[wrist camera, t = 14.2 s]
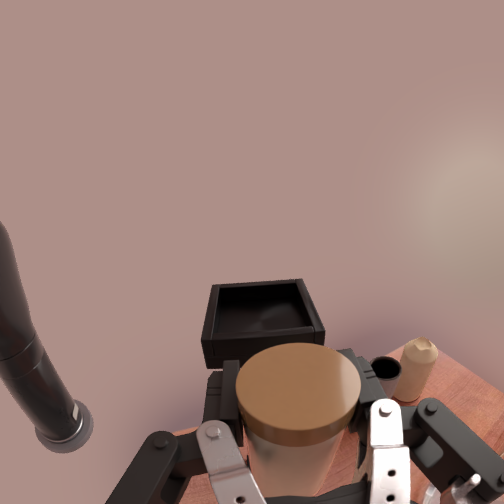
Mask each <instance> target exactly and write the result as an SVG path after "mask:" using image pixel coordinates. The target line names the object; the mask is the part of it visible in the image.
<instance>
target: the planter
mask: <svg viewBox="0 0 504 504" xmlns="http://www.w3.org/2000/svg"><path fill="white" fill-rule="evenodd" d="M370 365H371V367H372V369H373V371H374V373H375V374H376V377H377V378H378V380H379V382H380V384H381V386H382V388H383V390H384V392H385V394H386V395H387V397H388V399H392V396H393V394H394V392H395V389H396V387H397V384H398V381H399V379H400V376H401V374H402V366H401V364H400V363H399V362H398V361H397V360H396V359H394V358H391V357H387V356H381V357H377V358H374V359H373V360H372V361H370Z"/></svg>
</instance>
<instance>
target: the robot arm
mask: <svg viewBox="0 0 504 504" xmlns="http://www.w3.org/2000/svg"><path fill="white" fill-rule="evenodd" d="M336 351H337V352H339V353H341V354H342V355H344V356H345V357H347V358H348V359H349V360H350V361H351V362H352V363H353V365H354V366H355V367H356V369H357V371H358V373H359V376H360V380H361V391H360V395H359V399H358V402H357V405H356V408H355V411H354V414H353V416H352V418H351V420H350V422H349V423H348V428H349V431H350V433H354V432H358V435H359V438H358V441H357V453H356V464H355V473H354V477H353V480H352V483H351V484H349V485H345V486H341V487H339V488H337V489H334V490H332V491H330V492H328V493H325V494H323V495H320V496H317V497H307V496H292V495H287V496H277V497H263V495H262V493H261V491H260V489H259V487H258V485H257V483H256V481H255V479H254V477H253V475H252V473H251V471H250V469H249V467H248V466H247V465H246V464H245V462H244V459H243V457H242V455H241V453H240V451H239V448H238V447H243V420H242V418H241V416H240V413H239V409H238V403H237V397H236V388H235V384H236V379H237V375H238V373H239V371H240V362H239V360H226V361H224V362H223V371H213V373H212V374H211V375H210V377H209V378H208V383H207V392H206V399H205V408H204V415H203V421H202V424H201V425H200V426H199V427H198V429H197V430H195V431H194V432H191V433H189V434H184V435H180V436H174V435H173V434H172V433H170V432H166V431H158V432H154V433H152V434H151V435H149V436H148V437H147V439H146V440H145V442H144V443H143V445H142V446H141V448H140V450H139V451H138V453H137V454H136V456H135V458H134V459H133V461H132V462H131V464H130V465H129V467H128V468H127V470H126V472H125V473H124V475H123V476H122V478H121V480H120V481H119V483H118V484H117V486H116V487H115V489H114V490H113V492H112V494H111V495H110V497H109V498H108V500H107V501H106V503H105V504H179V502H180V500H181V498H182V496H183V494H184V492H185V490H186V488H187V486H188V483H189V481H190V479H191V477H192V476H196V475H200V474H205V473H208V474H209V479H210V483H211V485H212V488H213V491H214V493H215V496H216V499H217V501H218V504H418V503H416V502H414V501H412V500H410V459H411V460H412V461H413V462H414V463H415V464H416V466H417V467H418V468H419V469H420V470H421V471H422V472H423V474H424V475H425V476H426V477H427V478H428V479H429V480H430V481H431V483H432V484H433V485H434V486H435V487H436V488H437V489H438V490H439V492H440V493H441V497H440V504H490V503H492V502H493V501H494V500H496V499H497V498H499V497H500V496H501V495H503V494H504V460H503V459H502V458H501V457H500V456H499V455H498V454H497V453H496V452H495V451H493V450H492V449H491V448H490V447H489V446H488V445H487V444H486V443H485V442H484V441H483V440H482V439H481V438H480V437H479V436H477V435H476V434H475V433H474V432H473V431H472V430H471V429H470V428H469V427H468V426H467V425H466V424H464V423H463V422H462V421H461V420H460V419H459V418H458V417H457V416H456V415H455V414H454V413H452V412H451V411H450V410H449V409H448V408H447V407H446V406H445V405H444V404H443V403H442V402H440V401H439V400H437V399H435V398H425V399H423V400H422V401H420V403H419V404H418V406H399V405H398V403H396V402H395V401H393V400H391V399H388V397H387V395H386V394H385V392H384V390H383V388H382V386H381V384H380V382H379V380H378V378H377V377H376V374H375V373H374V371H373V369H372V367H371V365H370V363H369V362H368V361H367V360H365V359H364V358H363V357H356V356H355V354H354V353H353V350H352V349H351V348H349V349H343V350H336ZM0 378H1V380H2V381H3V383H4V384H5V386H6V388H7V389H8V391H9V392H10V394H11V395H12V397H13V398H14V399H15V401H16V402H17V403H18V405H19V406H20V407H21V409H22V410H23V411H24V413H25V414H26V415H27V417H28V418H29V419H30V420H31V422H32V423H33V424H34V425H35V426H36V428H37V429H38V430H39V431H40V433H41V434H42V435H43V436H44V438H45V439H47V440H48V441H50V442H52V443H56V444H62V443H67V442H69V441H71V440H73V439H74V438H76V437H77V436H78V435H79V433H80V432H81V430H82V428H83V425H84V415H83V413H82V411H81V410H80V408H79V407H78V406H77V405H76V403H75V402H74V400H73V398H72V397H71V395H70V394H69V392H68V391H67V389H66V387H65V386H64V384H63V382H62V380H61V379H60V377H59V375H58V374H57V372H56V370H55V368H54V366H53V365H52V363H51V361H50V359H49V357H48V355H47V353H46V351H45V349H44V347H43V346H42V343H41V341H40V339H39V337H38V335H37V332H36V330H35V328H34V326H33V323H32V321H31V317H30V311H29V306H28V303H27V299H26V296H25V293H24V289H23V286H22V283H21V279H20V275H19V271H18V267H17V263H16V259H15V255H14V251H13V247H12V243H11V240H10V238H9V235H8V232H7V230H6V228H5V227H4V225H3V224H2V223H1V222H0Z"/></svg>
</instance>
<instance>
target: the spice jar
mask: <svg viewBox="0 0 504 504" xmlns="http://www.w3.org/2000/svg"><path fill="white" fill-rule="evenodd" d="M235 388H236V397H237V403H238V409H239V413H240V416H241V418H242V420H243V425H244V431H245V438H246V444H247V450H248V456H249V462H250V468H251V473H252V475H253V477H254V479H255V481H256V483H257V485H258V487H259V489H260V491H261V493H262V495H263V496H264V497H277V496H287V495H292V496H307V497H313V496H314V495H315V494H316V493H318V492H319V491H320V489H321V488H322V486H323V485H324V483H325V481H326V478H327V476H328V474H329V471H330V469H331V467H332V464H333V462H334V459H335V457H336V454H337V452H338V449H339V447H340V444H341V441H342V439H343V436H344V433H345V430H346V427H347V425H348V423H349V422H350V420H351V418H352V416H353V414H354V411H355V408H356V405H357V402H358V399H359V395H360V391H361V380H360V376H359V373H358V371H357V369H356V367H355V366H354V365H353V363H352V362H351V361H350V360H349V359H348V358H347V357H345V356H344V355H342V354H341V353H339V352H337V351H335V350H333V349H331V348H328V347H325V346H321V345H317V344H311V343H288V344H282V345H277V346H274V347H270V348H268V349H265V350H263V351H261V352H259V353H257V354H256V355H254V356H253V357H251V358H250V359H249V360H248V361H247V362H246V363H245V364H244V365H243V366H242V368H241V369H240V371H239V373H238V375H237V379H236V384H235Z"/></svg>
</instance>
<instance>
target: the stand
mask: <svg viewBox="0 0 504 504" xmlns="http://www.w3.org/2000/svg"><path fill="white" fill-rule="evenodd" d="M324 340H325V328H324V326H323V324H322V322H321V320H320V317H319V315H318V313H317V310H316V308H315V306H314V304H313V301H312V299H311V297H310V295H309V293H308V291H307V288H306V286H305V284H304V281H303V279H295V280H294V279H289V280H276V281H263V282H249V283H233V284H216V285H212V288H211V293H210V297H209V303H208V307H207V312H206V316H205V321H204V326H203V331H202V337H201V344H202V349H203V353H204V358H205V363H206V367H207V369H223V362H224V361H226V360H239V362H240V368H242V366H243V365H244V364H245V363H246V362H247V361H248V360H249V359H250V358H251V357H253V356H254V355H256V354H257V353H259V352H261V351H263V350H265V349H268V348H270V347H274V346H277V345H282V344H288V343H311V344H317V345H321V346H324ZM247 466H248V467H249V469H250V471H251V468H250V462H249V456H248V455H247Z"/></svg>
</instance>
